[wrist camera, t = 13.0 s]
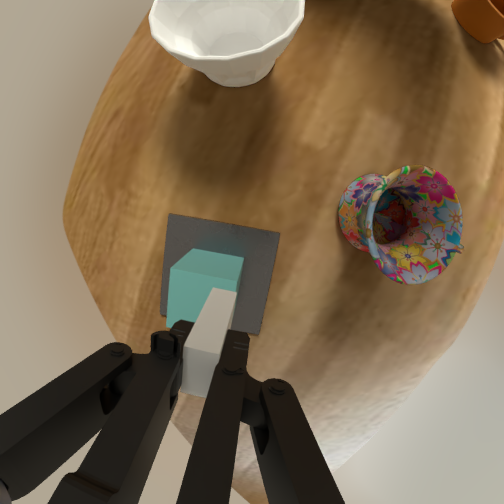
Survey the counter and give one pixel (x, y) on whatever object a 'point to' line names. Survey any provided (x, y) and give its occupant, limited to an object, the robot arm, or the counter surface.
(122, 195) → the counter surface
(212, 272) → the teal block
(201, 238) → the grey square tile
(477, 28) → the mug
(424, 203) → the mug
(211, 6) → the cup
